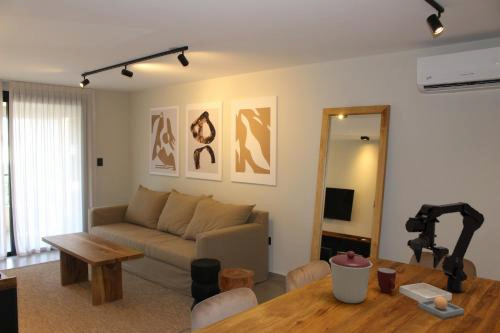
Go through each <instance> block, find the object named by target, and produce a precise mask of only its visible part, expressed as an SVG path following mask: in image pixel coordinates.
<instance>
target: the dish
mask: <svg viewBox="0 0 500 333" xmlns="http://www.w3.org/2000/svg"><path fill="white" fill-rule="evenodd" d="M398 292H399V294H401V295H404V296H406V297H408V298H410V299H412V300H414V301H417V302H422V301H427V300H433V299H435V298H436V297H443V298H445V299H446V300H447V302H449V301H452V299H453V298H452V297H453V294H452V292H450V291H446V290H445V289H444V290H443V289H441V288H439V287H437V286H434V285H430V284H428V283H425V282H420V283H419V282H418V283H412V284H406V285H399V291H398Z"/></svg>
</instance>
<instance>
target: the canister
mask: <svg viewBox="0 0 500 333" xmlns="http://www.w3.org/2000/svg"><path fill="white" fill-rule="evenodd" d="M329 263H330V269H331V270H330V271H331V284H332V285H331V286H332V287H331V288H332V293H333V295H334V297H335V299H336V300H338V301H340V302H342V303H343V302H344V303H346V304H359V303H362V302H363V301H364V300H365V298H366V296H367V292H368V287H369V286H368V285H369V279H370V274H371V268H372V267H373V263H372V262H371V261H370V260H369V259H367V258H366V257H363V256H359V255H356V253H355V252H354V251H352V250H349V251H347V252H346V254H338V255H334V256H332V257H330V258H329Z"/></svg>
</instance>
